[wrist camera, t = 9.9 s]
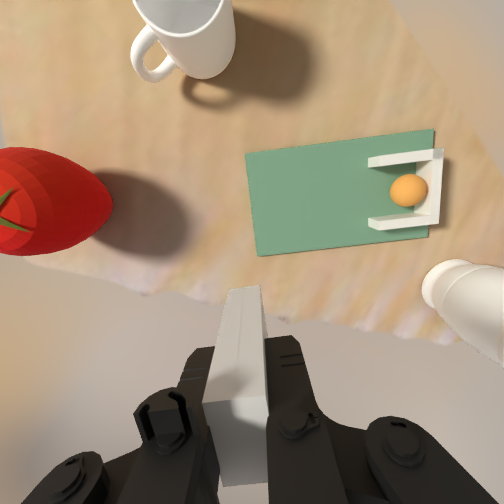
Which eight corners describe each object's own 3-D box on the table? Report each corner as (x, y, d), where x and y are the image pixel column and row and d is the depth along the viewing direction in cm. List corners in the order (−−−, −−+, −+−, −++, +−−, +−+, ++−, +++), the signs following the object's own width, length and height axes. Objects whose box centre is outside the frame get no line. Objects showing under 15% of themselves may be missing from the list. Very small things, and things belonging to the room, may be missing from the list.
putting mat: (244, 154, 34) (244, 153, 33) (430, 129, 33) (433, 128, 32) (257, 255, 38) (257, 256, 37) (424, 235, 37) (427, 236, 36)
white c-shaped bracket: (368, 158, 33) (379, 155, 30) (426, 150, 33) (443, 147, 30) (368, 226, 36) (379, 230, 33) (422, 219, 35) (438, 223, 32)
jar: (414, 321, 40) (504, 400, 26) (411, 259, 38) (508, 308, 23) (485, 308, 40) (617, 381, 25) (486, 244, 37) (635, 285, 22)
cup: (250, 43, 31) (248, -22, 21) (182, 119, 33) (152, 93, 23) (200, -20, 29) (173, -121, 19) (132, 65, 31) (77, 12, 22)
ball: (383, 178, 34) (397, 176, 30) (415, 172, 34) (433, 170, 30) (385, 208, 35) (399, 210, 31) (417, 202, 35) (434, 204, 31)
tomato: (41, 233, 37) (-83, 263, 23) (33, 149, 34) (-115, 128, 20) (129, 243, 37) (57, 279, 24) (128, 161, 34) (46, 148, 21)
